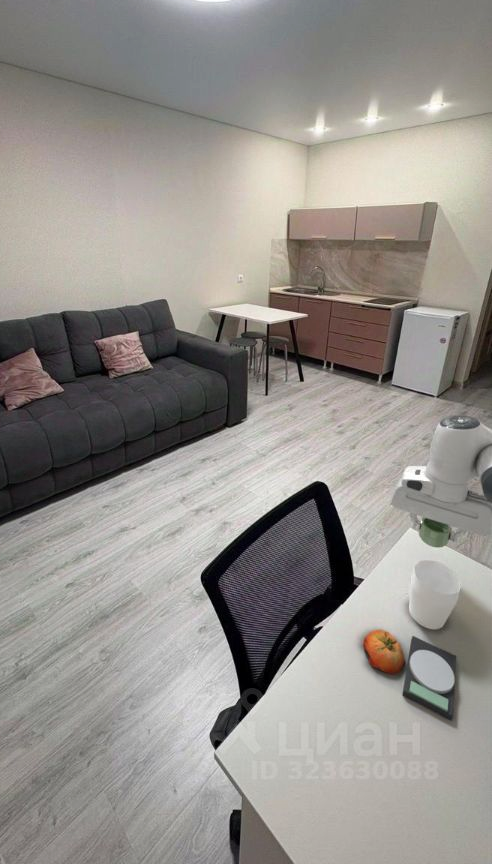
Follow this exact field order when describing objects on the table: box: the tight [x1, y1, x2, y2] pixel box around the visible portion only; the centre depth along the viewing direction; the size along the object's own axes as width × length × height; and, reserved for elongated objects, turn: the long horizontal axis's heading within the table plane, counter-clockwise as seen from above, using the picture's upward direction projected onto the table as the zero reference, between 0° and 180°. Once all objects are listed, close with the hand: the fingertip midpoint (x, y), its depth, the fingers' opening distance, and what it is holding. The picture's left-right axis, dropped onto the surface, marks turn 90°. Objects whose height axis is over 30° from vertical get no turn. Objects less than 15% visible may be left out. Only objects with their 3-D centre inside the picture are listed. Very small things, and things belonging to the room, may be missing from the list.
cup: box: [408, 559, 462, 630], centre depth 85 cm, size 9×9×12 cm
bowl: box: [418, 517, 453, 549], centre depth 95 cm, size 6×6×4 cm
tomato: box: [362, 629, 406, 675], centre depth 79 cm, size 8×7×7 cm
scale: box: [401, 635, 457, 722], centre depth 75 cm, size 12×8×3 cm, turn 149°
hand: (433, 533), depth 95 cm, fingers closed on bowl, 6 cm apart
